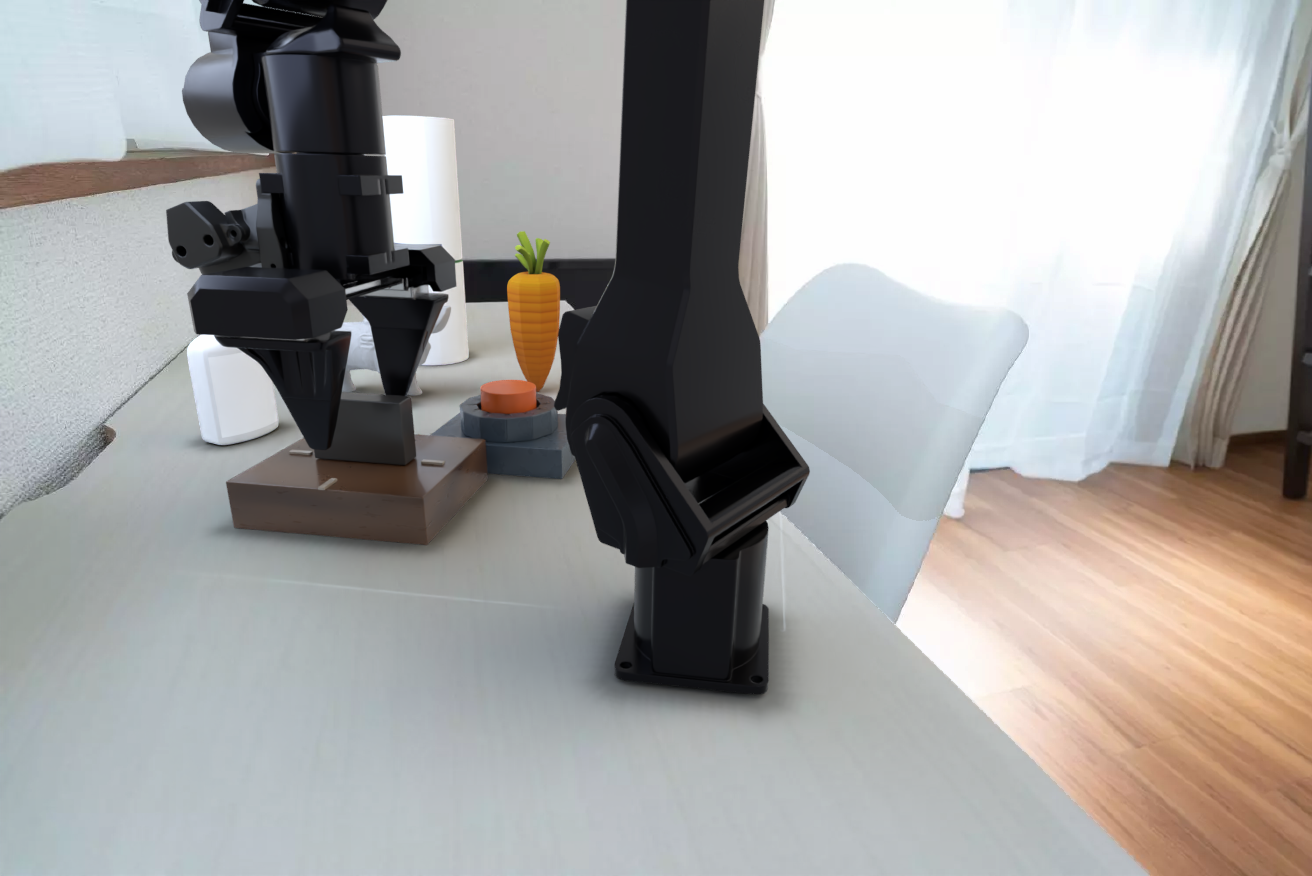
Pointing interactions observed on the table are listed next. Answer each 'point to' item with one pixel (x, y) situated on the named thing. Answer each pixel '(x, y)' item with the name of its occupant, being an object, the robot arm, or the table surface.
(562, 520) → the table surface
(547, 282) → the carrot
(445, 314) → the dog figurine
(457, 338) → the cylindrical container
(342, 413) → the block
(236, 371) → the eye dropper bottle
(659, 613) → the robot arm
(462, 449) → the brown flat block
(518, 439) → the button box
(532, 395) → the button
